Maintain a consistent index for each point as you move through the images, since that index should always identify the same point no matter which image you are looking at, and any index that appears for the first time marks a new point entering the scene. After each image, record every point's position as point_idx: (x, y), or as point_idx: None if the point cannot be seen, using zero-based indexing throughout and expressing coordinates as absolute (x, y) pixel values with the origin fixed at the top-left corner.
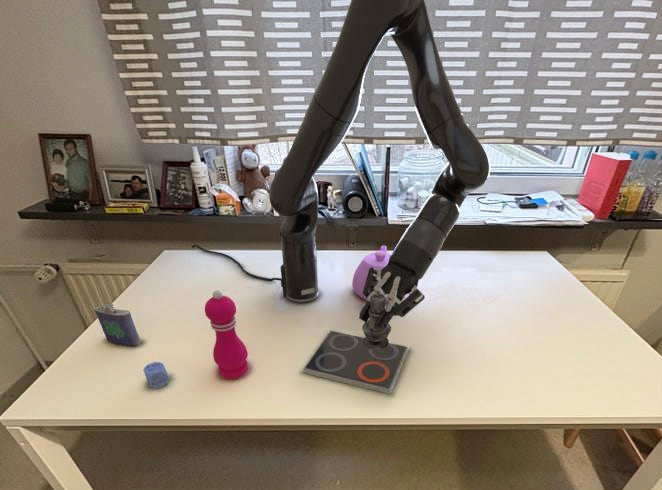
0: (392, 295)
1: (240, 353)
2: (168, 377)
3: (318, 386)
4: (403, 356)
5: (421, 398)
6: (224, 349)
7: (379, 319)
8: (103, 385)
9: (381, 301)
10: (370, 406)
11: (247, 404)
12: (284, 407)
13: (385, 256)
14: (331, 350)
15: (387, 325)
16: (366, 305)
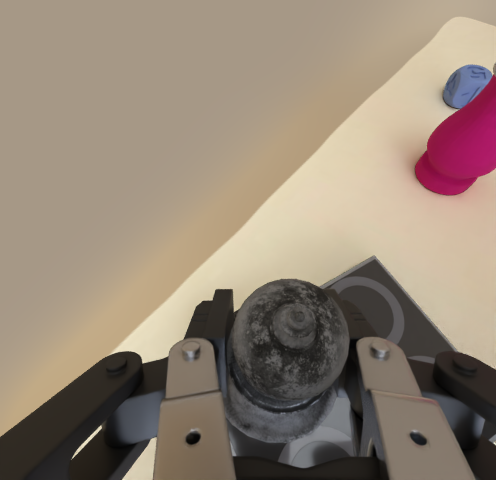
0: (186, 416)
1: (447, 142)
2: (454, 96)
3: (314, 259)
4: None
5: None
6: (460, 109)
7: (218, 306)
8: (478, 62)
9: (236, 317)
10: (200, 300)
11: (342, 157)
12: (301, 190)
13: None
14: (408, 347)
15: (245, 409)
16: (352, 322)
